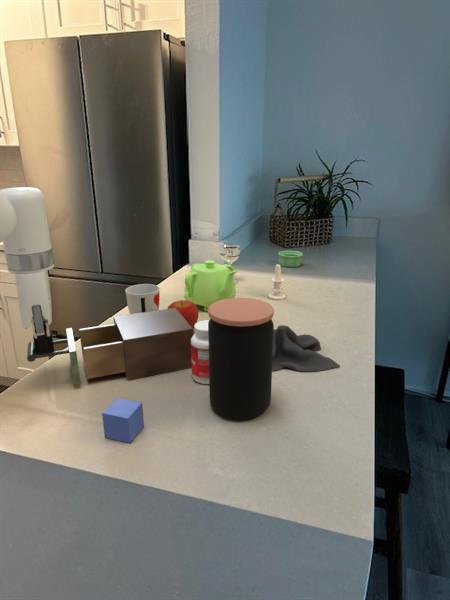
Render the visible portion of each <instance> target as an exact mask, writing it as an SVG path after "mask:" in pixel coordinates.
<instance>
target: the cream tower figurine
mask: <svg viewBox="0 0 450 600" xmlns="http://www.w3.org/2000/svg"><path fill="white" fill-rule="evenodd" d="M270 281H271V282H273V287H272V288H271V292H270V293H268V295H267V298H269V299H270V300H274V301H280V300H284V299H286V297H287V295H286V294H285V293H284V292H283V291H284V290H283V288H282V282H285V279H284V278H282V266H281V265H280V264H279V263H277V264H275V271H274V277H273V278H270ZM282 292H283V293H282Z"/></svg>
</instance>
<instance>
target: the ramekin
mask: <svg viewBox="0 0 450 600" xmlns="http://www.w3.org/2000/svg"><path fill="white" fill-rule="evenodd" d="M303 256H304V254H303V252H302V251H298V250H282V251H281V250H280V251H279V252H278V264H279V265H281V267H284V268H297V267H300V266H301V265H302V259H303ZM281 263H282V264H281Z"/></svg>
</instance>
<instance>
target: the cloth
mask: <svg viewBox="0 0 450 600" xmlns="http://www.w3.org/2000/svg"><path fill="white" fill-rule="evenodd" d="M321 350H322V347H321V343H320V341H319V339H318V338H317V337H315V336H313V335H312V334H299V335H297V333H296V332H295V331H294V330H293V329H292V328H291V327H290V326H288V325H283V324H280V325H278V326H277V328H276V329H275V328H274V330H273V357H272V372H276V371H280V370H281V369H284V368H287V369H290V370H294V371H298V372H301V373H302V372H303V373H312V372H322V371H326V370H332V369H336V368H340V367H341V365H340V364H338V363H337V362H336V361H335V360H333V359H332V358H330V357H328V356H324V355H323V354H321V353H319V352H317V351H321Z"/></svg>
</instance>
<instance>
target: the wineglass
mask: <svg viewBox="0 0 450 600" xmlns="http://www.w3.org/2000/svg"><path fill="white" fill-rule="evenodd" d="M219 248H220V250H219V254H220V258H221V259H222V260H223V261H225V262H227V263H228V265H230V266H232V265H233V263H234V262H236V261H237V260H238V259H240V257H241V255H242V251H241V244H238V243H237V244H236V243H226V244H225V243H224V244H221V245H219ZM232 267H233V266H232ZM233 280H234V283H235V285H236V284H238V283H239V281H238V280H236V279H233Z"/></svg>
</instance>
